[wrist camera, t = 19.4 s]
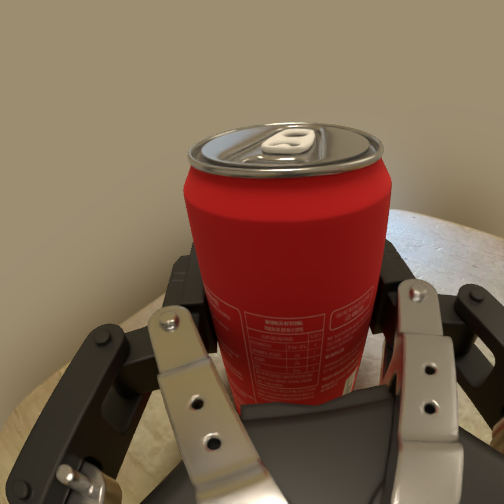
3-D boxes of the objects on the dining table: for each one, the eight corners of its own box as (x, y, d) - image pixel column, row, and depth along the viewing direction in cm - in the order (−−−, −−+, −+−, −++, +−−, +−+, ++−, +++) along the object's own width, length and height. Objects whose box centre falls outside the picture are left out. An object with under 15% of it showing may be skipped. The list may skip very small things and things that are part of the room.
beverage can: (221, 435, 13) (130, 175, 6) (259, 354, 17) (230, 121, 10) (332, 462, 11) (404, 187, 4) (353, 372, 15) (388, 126, 8)
